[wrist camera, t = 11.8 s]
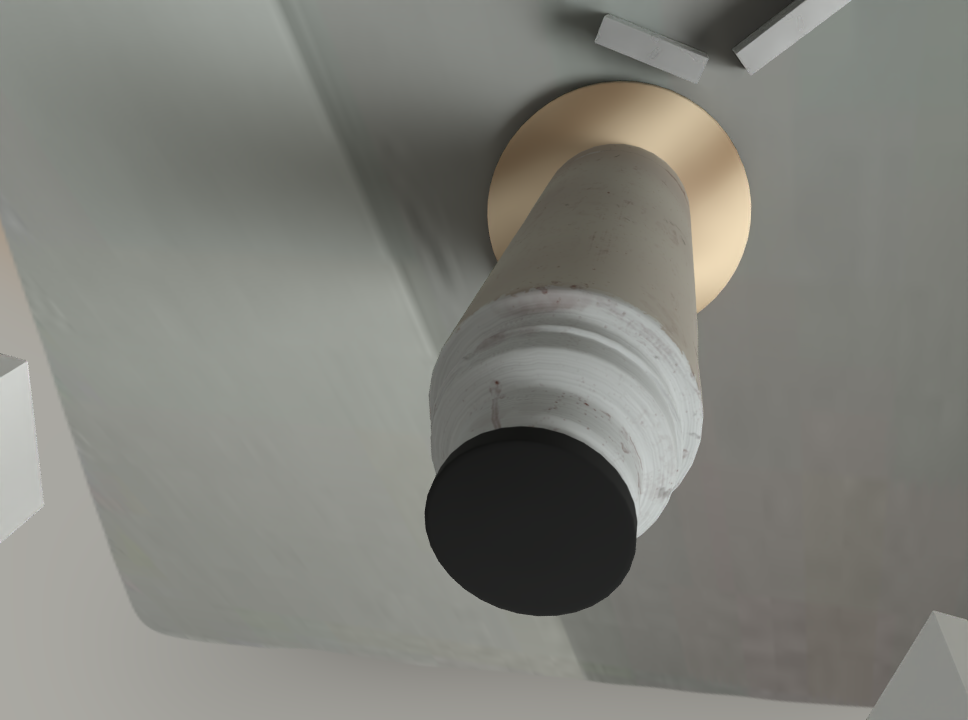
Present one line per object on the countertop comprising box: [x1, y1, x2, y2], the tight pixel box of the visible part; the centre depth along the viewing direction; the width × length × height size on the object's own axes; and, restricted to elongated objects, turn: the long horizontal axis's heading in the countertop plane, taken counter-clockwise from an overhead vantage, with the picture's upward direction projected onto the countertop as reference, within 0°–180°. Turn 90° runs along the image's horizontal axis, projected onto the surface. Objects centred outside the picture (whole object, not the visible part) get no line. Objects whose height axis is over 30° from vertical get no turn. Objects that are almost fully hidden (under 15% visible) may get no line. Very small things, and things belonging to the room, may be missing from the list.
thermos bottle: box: [425, 144, 703, 616], centre depth 30 cm, size 8×8×28 cm
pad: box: [487, 81, 751, 313], centre depth 43 cm, size 14×14×1 cm
